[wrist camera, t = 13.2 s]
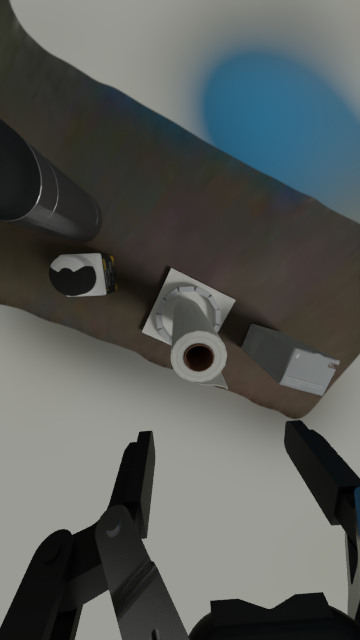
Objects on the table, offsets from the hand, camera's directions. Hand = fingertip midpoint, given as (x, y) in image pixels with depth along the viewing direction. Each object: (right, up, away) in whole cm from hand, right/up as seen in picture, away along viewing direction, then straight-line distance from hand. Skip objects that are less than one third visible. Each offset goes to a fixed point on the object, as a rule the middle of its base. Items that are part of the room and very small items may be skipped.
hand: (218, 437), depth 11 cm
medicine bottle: (-19, +17, +29) cm, 38 cm away
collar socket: (-1, +8, +31) cm, 32 cm away
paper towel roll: (-1, +8, +30) cm, 31 cm away
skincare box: (+17, +3, +33) cm, 37 cm away
